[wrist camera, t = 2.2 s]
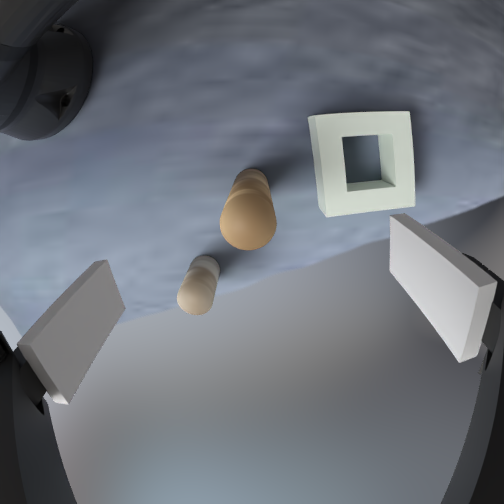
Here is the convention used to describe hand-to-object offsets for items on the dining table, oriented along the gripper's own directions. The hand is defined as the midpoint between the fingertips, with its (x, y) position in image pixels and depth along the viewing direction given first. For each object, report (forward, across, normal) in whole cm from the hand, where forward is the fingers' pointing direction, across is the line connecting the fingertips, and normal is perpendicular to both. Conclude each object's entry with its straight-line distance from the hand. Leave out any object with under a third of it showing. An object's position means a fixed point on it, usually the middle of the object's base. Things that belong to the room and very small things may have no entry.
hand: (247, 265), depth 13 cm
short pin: (+21, -7, -9) cm, 24 cm away
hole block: (+21, +12, +1) cm, 24 cm away
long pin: (+21, 0, 0) cm, 21 cm away
